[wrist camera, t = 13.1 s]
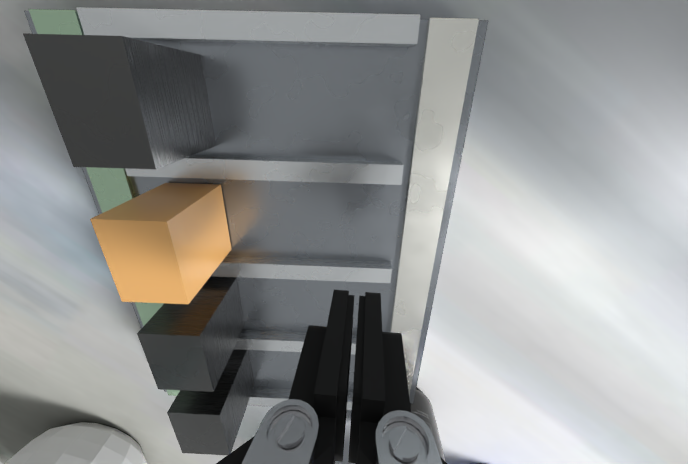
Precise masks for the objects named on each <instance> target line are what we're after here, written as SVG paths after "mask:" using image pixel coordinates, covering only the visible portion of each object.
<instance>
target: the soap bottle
mask: <svg viewBox="0 0 688 464" xmlns="http://www.w3.org/2000/svg"><path fill="white" fill-rule="evenodd" d="M4 464H147V462H146V460H145V457H144V455H143V452H142V450H141V447H140V445H139V444H138V443H137V442H136V441H135V440H134V439H132V438H131V437H130V436H129V435H127V434H125V433H123V432H121V431H119V430H118V429H116V428H112V427H109V426H106V425H102V424H99V423H87V422H80V423H75V424H70V425H65V426H61V427H56V428H51V429H49V430H47V431H46V432H44V433H42V434H41V435H39V436H38V437H36V438H35V439H33V440H32V441H30V442H29V443H28V444H27V445H26V446H24V447H23V448H22V449H21V450H20V451H18V452H17V453H16V454H15V455H14V456H12V457H11V458H10V459H9V460H8V461H6V462H5V463H4Z"/></svg>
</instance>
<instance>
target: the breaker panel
mask: <svg viewBox="0 0 688 464" xmlns="http://www.w3.org/2000/svg"><path fill="white" fill-rule="evenodd" d="M76 9H77V11H76V10H46V9H29V11H24V12H25V14H26V17H27V20H28V22H29V25H30V28H31V31H32V33H33V34H23V35H24V37H25V40H26V43H27V45H28V48H29V50H30V53H31V56H32V58H33V61H34V64H35V66H36V69H37V71H38V74H39V77H40V79H41V82H42V85H43V87H44V90H45V93H46V95H47V98H48V100H49V103H50V106H51V108H52V111H53V114H54V116H55V119H56V121H57V124H58V127H59V129H60V132H61V135H62V137H63V140H64V142H65V145H66V148H67V150H68V153H69V156H70V158H71V161H72V163H73V166H74V167H82V169H83V172H84V174H85V177H86V180H87V183H88V185H89V188H90V191H91V193H92V196H93V199H94V202H95V204H96V207H97V210H98V212H99V215H100V214H102V213H104V212H106V211H108V210H110V209H112V208H114V207H116V206H118V205H120V204H123V203H125V202H127V201H129V200H131V199H133V198H135V197H137V196H139V195H141V194H143V193H145V192H147V191H150V190H152V189H154V188H156V187H158V186H160V185H162V184H164V183H192V184H221V188H222V195H223V201H224V207H225V213H226V219H227V225H228V231H229V237H230V243H231V251H230V252H229V253H228V255H227V256H226V257H225V258H224V260H223V261H222V262H221V264H220V265H219V266H218V267H217V269H216V270H215V271H214V272H213V274H212V275H211V276H210V278H209V279H208V280H207V281H206V283H205V284H204V285H203V287H202V288H201V289H200V290H199V292H198V293H197V294H196V296H195V297H194V298H193V299H192V301H191V302H190V303H189V304H168V303H144V302H132V305H133V307H134V310H135V313H136V316H137V318H138V321H139V324H140V326H141V330H140V331H139V332H138V333H137V334H138V337H139V340H140V342H141V345H142V348H143V350H144V353H145V355H146V358H147V361H148V363H149V366H150V369H151V371H152V374H153V376H154V379H155V382H156V384H157V387H158V389H164V391H165V392H167V393H168V395H173V396H177V397H176V399H175V400H174V402H173V404H172V405H171V407H170V409H169V411H168V412H167V413H168V416H169V418H170V421H171V424H172V426H173V429H174V432H175V434H176V437H177V440H178V442H179V445H180V447H181V450H182V453H195V454H215V455H229V454H230V453H231V451H232V448H233V445H234V442H235V439H236V436H237V433H238V430H239V427H240V425H241V422H242V419H243V416H244V413H245V410H246V407H247V405H253V406H275V405H276V404H278V403H280V402H282V401H285V400H288V399H289V395H290V392H291V388H292V384H293V381H294V377H295V373H296V369H297V366H298V362H299V358H300V355H301V351H302V347H303V344H304V340H305V336H306V332H307V329H308V326H309V325H313V326H324V327H327V323H328V317H329V312H330V307H331V302H332V296H333V291H334V289H335V290H347V291H349V295H354V312H353V329H352V346H351V361H350V373H349V386H348V398H347V410H352V398H353V383H354V367H355V351H356V337H357V322H358V308H359V296H365V292H373V293H381V312H382V332H393V333H401V335H402V341H403V349H404V357H405V366H406V374H407V382H408V390H409V399H410V403H413V401H414V396H415V391H416V386H417V381H418V376H419V371H420V365H421V360H422V355H423V350H424V345H425V340H426V335H427V330H428V325H429V320H430V315H431V310H432V304H433V299H434V294H435V289H436V284H437V279H438V274H439V269H440V264H441V259H442V254H443V248H444V243H445V238H446V233H447V228H448V223H449V218H450V213H451V208H452V203H453V198H454V192H455V187H456V182H457V177H458V172H459V167H460V162H461V157H462V152H463V147H464V142H465V136H466V131H467V126H468V121H469V116H470V111H471V106H472V101H473V96H474V91H475V86H476V81H477V75H478V70H479V65H480V60H481V55H482V50H483V45H484V40H485V35H486V30H487V25H488V20H479V19H472V18H429V19H420V15H421V14H374V13H326V12H279V11H231V10H183V9H135V8H87V7H76Z"/></svg>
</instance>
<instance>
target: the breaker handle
mask: <svg viewBox="0 0 688 464" xmlns="http://www.w3.org/2000/svg"><path fill="white" fill-rule="evenodd" d="M90 220H91V222H92V225H93V228H94V230H95V233H96V235H97V238H98V241H99V243H100V246H101V248H102V251H103V254H104V256H105V259H106V261H107V264H108V266H109V269H110V272H111V274H112V277H113V279H114V282H115V285H116V287H117V290H118V292H119V295H120V298H121V300H122V302H144V303H168V304H189V303H190V302H191V301H192V299H193V298H194V297H195V296H196V294H197V293H198V292H199V290H200V289H201V288H202V287H203V285H204V284H205V283H206V281H207V280H208V279H209V278H210V276H211V275H212V274H213V272H214V271H215V270H216V269H217V267H218V266H219V265H220V264H221V262H222V261H223V260H224V258H225V257H226V256H227V255H228V253H229V252H230V251H231V243H230V237H229V231H228V225H227V219H226V213H225V207H224V201H223V195H222V188H221V184H192V183H164V184H162V185H160V186H158V187H156V188H154V189H152V190H150V191H147V192H145V193H143V194H141V195H139V196H137V197H135V198H133V199H131V200H129V201H127V202H125V203H123V204H120V205H118V206H116V207H114V208H112V209H110V210H108V211H106V212H104V213H102V214H100V215H98V216H95V217H93V218H91V219H90Z"/></svg>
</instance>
